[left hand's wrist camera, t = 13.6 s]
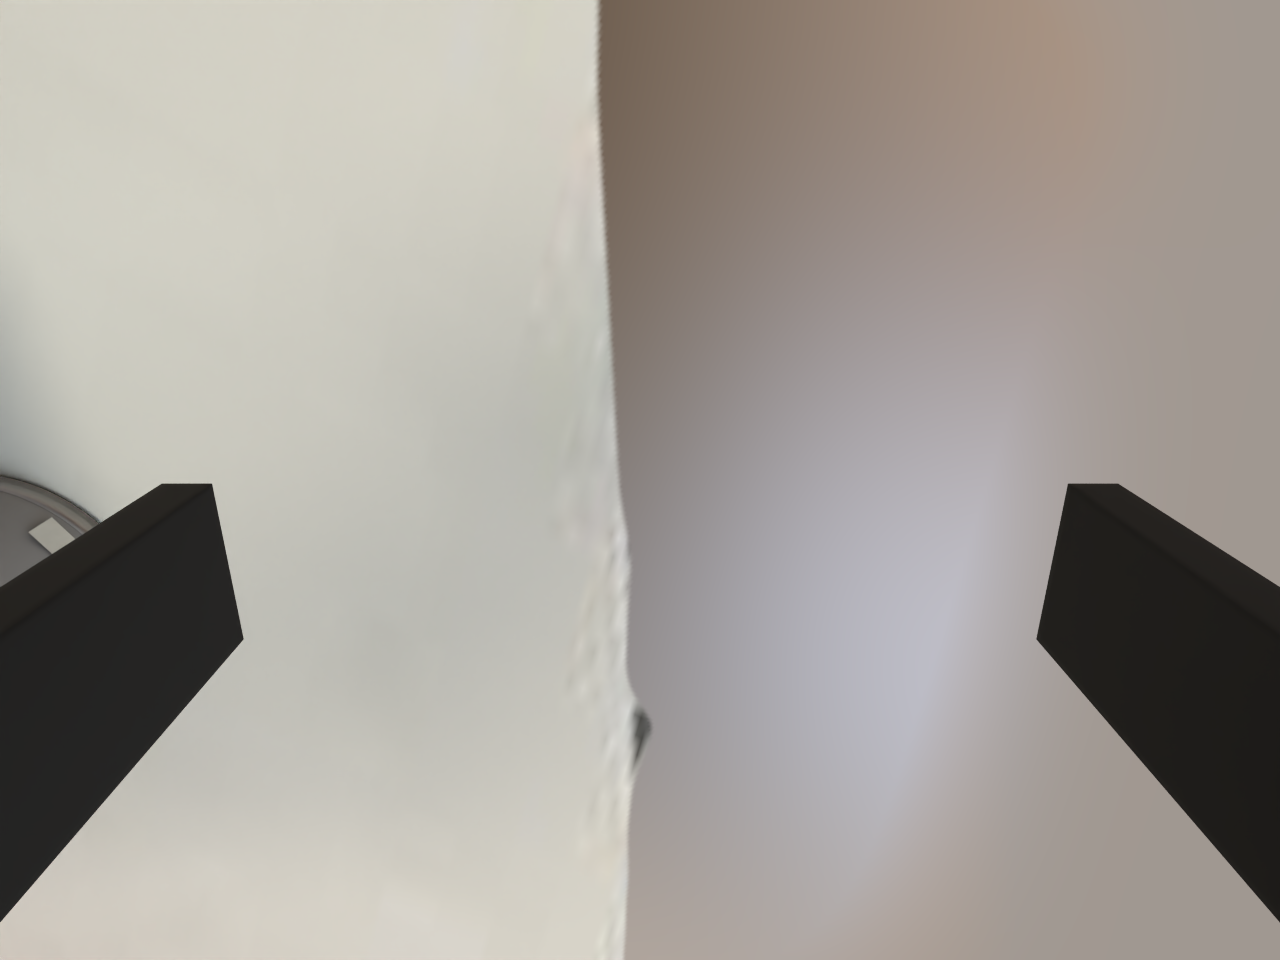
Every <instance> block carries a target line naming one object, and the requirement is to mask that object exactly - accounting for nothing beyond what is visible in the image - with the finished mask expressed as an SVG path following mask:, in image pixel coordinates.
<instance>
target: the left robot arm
mask: <svg viewBox="0 0 1280 960" xmlns="http://www.w3.org/2000/svg"><path fill="white" fill-rule="evenodd" d="M242 640H243V634H242V629H241V624H240V619H239V614H238V609H237V605H236V600H235V595H234V590H233V585H232V580H231V575H230V570H229V565H228V560H227V555H226V550H225V546H224V541H223V536H222V531H221V526H220V521H219V516H218V511H217V506H216V501H215V496H214V492H213V487H212V484H161V485H159V486H158V487H156V488H154V489H153V490H151V491H150V492H148V493H147V494H145V495H143V496H142V497H140V498H139V499H137V500H136V501H134V502H133V503H131V504H129V505H128V506H126V507H125V508H123V509H122V510H120V511H118V512H117V513H115V514H114V515H112V516H111V517H109V518H108V519H106V520H104V521H103V522H101V523H100V524H99V523H98V522H96V521H95V520H94V519H93V518H91V517H90V516H89V515H88V514H86V513H85V512H84V511H82V510H81V509H79V508H78V507H76V506H75V505H73V504H72V503H70V502H68V501H66V500H65V499H63V498H61V497H59V496H57V495H55V494H53V493H51V492H49V491H47V490H45V489H42V488H39V487H37V486H34V485H32V484H29V483H25V482H22V481H19V480H15V479H10V478H6V477H1V476H0V922H1V921H2V920H3V918H4V917H5V916H6V915H7V914H8V913H9V911H10V910H11V909H12V908H13V907H14V906H15V904H16V903H17V902H18V901H19V900H20V899H21V897H22V896H23V895H24V894H25V893H26V892H27V890H28V889H29V888H30V887H31V886H32V885H33V883H34V882H35V881H36V880H37V879H38V878H39V877H40V875H41V874H42V873H43V872H44V871H45V870H46V868H47V867H48V866H49V865H50V864H51V863H52V861H53V860H54V859H55V858H56V857H57V856H58V854H59V853H60V852H61V851H62V850H63V849H64V847H65V846H66V845H67V844H68V843H69V842H70V840H71V839H72V838H73V837H74V836H75V835H76V833H77V832H78V831H79V830H80V829H81V828H82V827H83V825H84V824H85V823H86V822H87V821H88V820H89V818H90V817H91V816H92V815H93V814H94V813H95V811H96V810H97V809H98V808H99V807H100V806H101V804H102V803H103V802H104V801H105V800H106V799H107V797H108V796H109V795H110V794H111V793H112V792H113V790H114V789H115V788H116V787H117V786H118V785H119V783H120V782H121V781H122V780H123V779H124V778H125V776H126V775H127V774H128V773H129V772H130V771H131V770H132V768H133V767H134V766H135V765H136V764H137V763H138V761H139V760H140V759H141V758H142V757H143V756H144V754H145V753H146V752H147V751H148V750H149V749H150V747H151V746H152V745H153V744H154V743H155V742H156V740H157V739H158V738H159V737H160V736H161V735H162V733H163V732H164V731H165V730H166V729H167V728H168V726H169V725H170V724H171V723H172V722H173V721H174V720H175V718H176V717H177V716H178V715H179V714H180V713H181V711H182V710H183V709H184V708H185V707H186V706H187V704H188V703H189V702H190V701H191V700H192V699H193V697H194V696H195V695H196V694H197V693H198V692H199V690H200V689H201V688H202V687H203V686H204V685H205V683H206V682H207V681H208V680H209V679H210V678H211V676H212V675H213V674H214V673H215V672H216V671H217V670H218V668H219V667H220V666H221V665H222V664H223V663H224V661H225V660H226V659H227V658H228V657H229V656H230V654H231V653H232V652H233V651H234V650H235V649H236V647H237V646H238V645H239V644H240V643H241V642H242ZM1037 640H1038V642H1039V643H1040V644H1041V645H1042V646H1043V647H1044V649H1045V650H1046V651H1047V652H1048V653H1049V654H1050V656H1051V657H1052V658H1053V659H1054V660H1055V661H1056V663H1057V664H1058V665H1059V666H1060V667H1061V668H1062V669H1063V671H1064V672H1065V673H1066V674H1067V675H1068V676H1069V678H1070V679H1071V680H1072V681H1073V682H1074V683H1075V685H1076V686H1077V687H1078V688H1079V689H1080V690H1081V692H1082V693H1083V694H1084V695H1085V696H1086V697H1087V699H1088V700H1089V701H1090V702H1091V703H1092V704H1093V706H1094V707H1095V708H1096V709H1097V710H1098V711H1099V713H1100V714H1101V715H1102V716H1103V717H1104V718H1105V719H1106V721H1107V722H1108V723H1109V724H1110V725H1111V726H1112V728H1113V729H1114V730H1115V731H1116V732H1117V733H1118V735H1119V736H1120V737H1121V738H1122V739H1123V740H1124V742H1125V743H1126V744H1127V745H1128V746H1129V747H1130V749H1131V750H1132V751H1133V752H1134V753H1135V754H1136V756H1137V757H1138V758H1139V759H1140V760H1141V761H1142V763H1143V764H1144V765H1145V766H1146V767H1147V768H1148V770H1149V771H1150V772H1151V773H1152V774H1153V775H1154V776H1155V778H1156V779H1157V780H1158V781H1159V782H1160V783H1161V785H1162V786H1163V787H1164V788H1165V789H1166V790H1167V792H1168V793H1169V794H1170V795H1171V796H1172V797H1173V799H1174V800H1175V801H1176V802H1177V803H1178V804H1179V806H1180V807H1181V808H1182V809H1183V810H1184V811H1185V812H1186V814H1187V815H1188V816H1189V817H1190V818H1191V820H1192V821H1193V822H1194V823H1195V824H1196V825H1197V827H1198V828H1199V829H1200V830H1201V831H1202V832H1203V833H1204V835H1205V836H1206V837H1207V838H1208V839H1209V840H1210V842H1211V843H1212V844H1213V845H1214V846H1215V847H1216V849H1217V850H1218V851H1219V852H1220V853H1221V854H1222V856H1223V857H1224V858H1225V859H1226V860H1227V861H1228V863H1229V864H1230V865H1231V866H1232V867H1233V868H1234V870H1235V871H1236V872H1237V873H1238V874H1239V875H1240V877H1241V878H1242V879H1243V880H1244V881H1245V882H1246V883H1247V885H1248V886H1249V887H1250V888H1251V889H1252V890H1253V892H1254V893H1255V894H1256V895H1257V896H1258V897H1259V899H1260V900H1261V901H1262V902H1263V903H1264V904H1265V906H1266V907H1267V908H1268V909H1269V910H1270V911H1271V913H1272V914H1273V915H1274V916H1275V917H1276V918H1277V919H1278V921H1279V922H1280V587H1279V586H1277V585H1276V584H1274V583H1273V582H1271V581H1269V580H1268V579H1266V578H1265V577H1263V576H1262V575H1260V574H1259V573H1257V572H1255V571H1254V570H1252V569H1251V568H1249V567H1248V566H1246V565H1244V564H1243V563H1241V562H1240V561H1238V560H1237V559H1235V558H1234V557H1232V556H1230V555H1229V554H1227V553H1226V552H1224V551H1223V550H1221V549H1219V548H1218V547H1216V546H1215V545H1213V544H1212V543H1210V542H1208V541H1207V540H1205V539H1204V538H1202V537H1201V536H1199V535H1198V534H1196V533H1194V532H1193V531H1191V530H1190V529H1188V528H1187V527H1185V526H1183V525H1182V524H1180V523H1179V522H1177V521H1176V520H1174V519H1172V518H1171V517H1169V516H1168V515H1166V514H1165V513H1163V512H1162V511H1160V510H1158V509H1157V508H1155V507H1154V506H1152V505H1151V504H1149V503H1147V502H1146V501H1144V500H1143V499H1141V498H1140V497H1138V496H1136V495H1135V494H1133V493H1132V492H1130V491H1129V490H1127V489H1126V488H1124V487H1122V486H1121V485H1119V484H1068V487H1067V492H1066V496H1065V501H1064V506H1063V511H1062V516H1061V521H1060V526H1059V531H1058V536H1057V541H1056V546H1055V550H1054V556H1053V560H1052V565H1051V570H1050V575H1049V580H1048V585H1047V590H1046V595H1045V600H1044V605H1043V609H1042V614H1041V619H1040V624H1039V629H1038V634H1037Z"/></svg>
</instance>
